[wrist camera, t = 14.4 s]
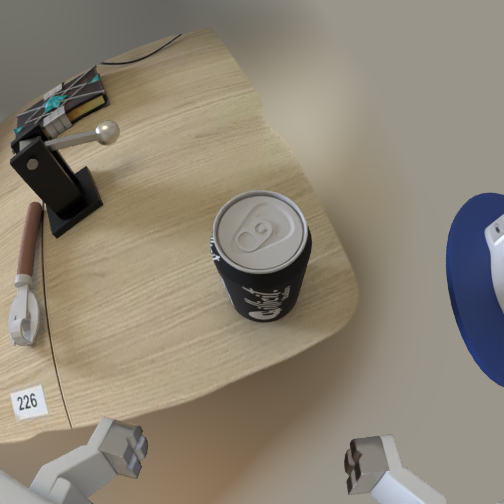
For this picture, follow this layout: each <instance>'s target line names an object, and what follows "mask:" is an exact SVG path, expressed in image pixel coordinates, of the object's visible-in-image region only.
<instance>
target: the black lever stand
mask: <svg viewBox="0 0 504 504" xmlns="http://www.w3.org/2000/svg"><path fill="white" fill-rule="evenodd" d="M38 136H39V137H38ZM40 136H41V138H40ZM34 137H37V138H36V139H35V140H33V141H32V142H31V143H30V144H28V145H27V146H26V147H25V148H23V149H22V150H21V151H20V142H21V141H24V140H27V139H31V138H34ZM46 141H50V138H49V137H48V135H47V134H46V132H45V131H44V129H43V128H42V126H41V125H40V123H39V122H36V123H35V124H34V125H32V126H31V127H30V128H28V129H27V130H26V131H25V132H23V133H22V134H21V135H20V136H19V137H17V138H16V139H15V140H14V141H13V142H11V148H12V149H13V150H14V152H15V153H16V155H15V156H14V157H13V158H12V159H10V165H11V166H12V167H13V168H14V169H15V170H16V172H17V173H18V174H19V175H20V176H21V177H22V178H23V180H24V181H25V182H26V183H27V184H28V185H29V186H30V187H31V189H32V190H33V191H34V192H35V193H36V194H37V195H38V196H39V197H40V198H41V199H42V200H43V201H44V203H45V204H46V208H47V213H48V217H49V222H50V226H51V231H52V234H53V235H54V236H55V237H56V238H58V237H59V236H61V235H62V234H63V233H65V232H66V231H67V230H69V229H70V228H71V227H73V226H74V225H75V224H77V223H78V222H79V221H81V220H82V219H84V218H85V217H86V216H88V215H89V214H90V213H92V212H93V211H95V210H96V209H98V208H99V207H100V206H102V205H103V203H102V201H101V198H100V196H99V193H98V191H97V188H96V186H95V183H94V181H93V178H92V176H91V173H90V171H89V169H88V168H87V166H85V167H84V168H83V169H81V170H80V171H78V172H77V173H75V174H74V172H73V171H72V170H71V168H70V167H69V165H68V164H67V163H66V161H65V160H64V158H63V157H62V156H61V154H60V153H59V151H58V150H55V151H51V152H50V150H49V149H48V148H47V146H46V145H45V143H44V142H46Z"/></svg>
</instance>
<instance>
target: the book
mask: <svg viewBox="0 0 504 504" xmlns="http://www.w3.org/2000/svg"><path fill="white" fill-rule="evenodd" d="M95 68H97V67H96V65H94V66H93V67H92V68H91V69H89V70H88V71H87V72H85V73H84V74H82V75H80V76H78V77H77V78H75V79H73V80H72V81H70V82H69V83H67V84H65V85H64V86H62V84H61V85H59V86H58V87H56V88H55V89H53V90H51V91H50V92H48V93H47V94H45V95H44V98H43V99H42V100H40V101H39V102H37V103H36V104H35V105H33V106H32V107H30V108H29V109H28V110H26V111H25V112H24V113H21V114H19V115H17V118H18V120H17V128H16V129H14V131H15V134H16V138H17V137H19V136H20V135H21V134H22V133H23V132H25V131H26V130H27V129H28V128H30V127H31V126H32V125H34V124H35V123H36V122H39V123H40V125H41V126H42V128H43V129H44V131H45V132H46V134H47V135H48V137H49V138H52V139H53V138H54V137H56V136H57V135H59V134H60V133H62V132H63V131H65V130H66V129H68V128H70V127H71V126H72V123H73V122H75V121H76V120H78V119H79V118H81V117H83V116H85V115H86V114H88V113H90V112H92V111H94V110H95V109H97V108H99V107H101V106H103V105H107V104H110V101H109V100H108V98H107V96H106V92H105V90H104V88H103V86H102V83H101V81H100V78H99V77H100V74H98V73H97V71H96V69H95ZM16 138H15V139H16ZM12 153H13V154H15V152H14V150H12Z"/></svg>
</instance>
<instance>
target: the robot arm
mask: <svg viewBox="0 0 504 504" xmlns="http://www.w3.org/2000/svg"><path fill="white" fill-rule="evenodd" d="M485 238H486V241H487V244H488V247H489V250H490V255H491V274H492V281H493V286H494V290H495V293H496V297H497V299H498V302H499V305H500V307H501V309H502V311H503V313H504V214H503V215H502V216H500V217H499V218H498V219H497V220H496V221H494V222H493V223H492V224H490V225H489V226H488V227H487V228H486V229H485ZM142 432H143V431H142V428H141V427H140V426H138V425H134V424H130V423H126V422H122V421H118V420H115V419H111V418H108V417H104V418H102V419H101V421H100V422H99V424H98V426H97V428H96V429H95V431H94V433H93V435H92V437H91V438H90V440H89V442H88V444H87V446H85V445H82V446H81V447H79V448H77V449H75V450H73V451H71V452H69V453H67V454H65V455H63V456H61V457H60V458H58V459H56V460H54V461H52V462H50V463H48V464H46V465H44V466H42V467H41V469H40V470H39V472H38V474H37V476H36V477H35V479H34V481H33V483H32V484H31V486H30V488H27V487H26V486H24V485H22V484H21V483H20V482H18V481H16V480H15V479H14V478H12V477H11V476H9V475H8V474H6V473H5V472H4V471H2V470H1V469H0V504H93V503H92V502H90V501H89V500H88V499H87V497H89V496H90V495H92V494H93V493H94V492H96V491H97V490H99V489H100V488H101V487H103V486H104V485H105V484H106V483H108V482H109V481H111V480H112V479H113V478H115V477H116V476H117V475H118V474H119V475H123V476H126V477H130V478H134V479H137V478H138V475H139V473H140V470H141V468H142V466H141V463H140V461H141V460H143V459H144V458H145V457H146V454H147V450H148V443H147V439H146V437H144V436H143V435H142ZM344 466H345V472H346V473H347V474H348V475H349V478H348V479H347V489H348V495H354V494H362V493H369V492H370V494H371V495H372V496H373V497H374V499H375V500H376V501H377V502H379V504H448V502H447V499H446V497H445V496H443V495H442V494H440V493H439V492H438V491H437V490H435V489H434V488H432V487H431V486H430V485H429V484H427V483H426V482H425V481H423V480H422V479H421V478H419V477H418V476H417V475H416V474H414V473H413V472H412V471H411V470H409V469H408V468H403V465H402V462H401V458H400V455H399V452H398V449H397V445H396V442H395V439H394V436H393V435H391V434H388V435H382V436H374V437H367V438H359V439H353V440H352V441H351V443H350V449H348V450H347V452H346V454H345V460H344ZM497 504H504V500H502V501H500V502H499V503H497Z"/></svg>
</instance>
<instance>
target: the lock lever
mask: <svg viewBox="0 0 504 504" xmlns="http://www.w3.org/2000/svg"><path fill="white" fill-rule="evenodd" d="M119 134H120V129H119V126H118V125H117V124H116V123H115V122H114V121H110V120H107V121H104V122H102V123H100V124H99V125H98V127H97V128H96V130H93V131H88V132H83V133H78V134H74V135H70V136H65V137H61V138H57V139H53V140H50V141H46V142H44V143H45V145H46V146H47V148H48V149H49V150H50V152H51V151H55V150H59V149H62V148H66V147H70V146H75V145H79V144H83V143H88V142H92V141H98V143H100V144H101V145H105V146H108V145H111V144H113V143H115V142H116V141H117V139H118V137H119ZM38 137H39V136H38ZM36 138H37V137H34V138H31V139H27V140H24V141H21V142H20V151H21V150H22V149H23V148H25V147H26V146H27V145H28V144H30V143H31V142H32V141H33V140H35V139H36ZM40 138H41V136H40Z"/></svg>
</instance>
